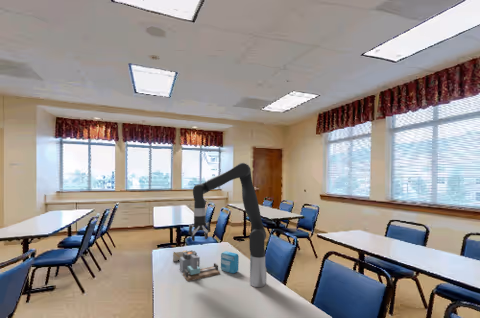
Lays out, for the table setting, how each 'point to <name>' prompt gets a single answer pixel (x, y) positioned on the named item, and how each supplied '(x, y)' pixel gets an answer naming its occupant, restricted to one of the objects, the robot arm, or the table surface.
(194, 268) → the carriage
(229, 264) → the data package
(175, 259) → the model
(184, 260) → the grey dispenser housing
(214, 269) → the rail base
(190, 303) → the table surface
